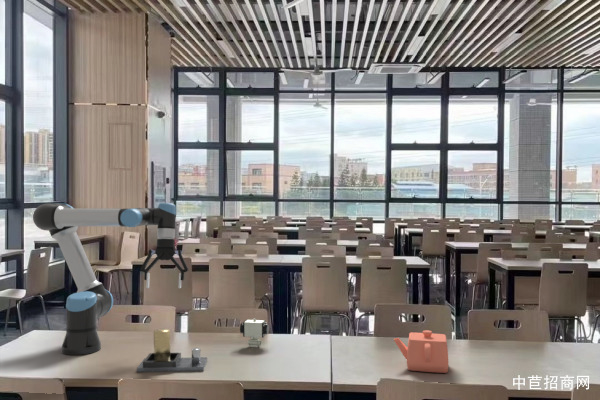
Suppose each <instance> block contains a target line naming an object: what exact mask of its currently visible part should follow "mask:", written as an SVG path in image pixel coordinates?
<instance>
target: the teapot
mask: <svg viewBox="0 0 600 400" xmlns="http://www.w3.org/2000/svg"><path fill="white" fill-rule="evenodd" d="M408 335H409V336H408V341H407V345H406V344H405V343H404V342H403V341H402V340H401V339H400V337H397V338H393V341H394V343H395V344H396V346H397V347H398V348H399V351H400V352H401V353H402V356H403V357H404V359H405V360H406V367H407V370H408V371H413V372H424V373H441V374H443V373H444V374H447V373H448V370H449V348H448V342H447V335H446V334H443V333H433V331H432V330H428V329H427V330H422V332H412V331H411V332H409V333H408Z"/></svg>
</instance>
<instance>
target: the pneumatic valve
mask: <svg viewBox="0 0 600 400" xmlns="http://www.w3.org/2000/svg"><path fill="white" fill-rule="evenodd" d="M239 332H240V334H242V337H245V338H247V337H248V338H250V339H248V340H247V346H248V347H249V348H255V349H256V348H259V347H260V346H261V345H262V340H261V339H260V338H265V337H266V336H267V335H269V332H270V325H269V324H268V323H267V320H262V319H261V320H260V319H256V318H253V319H245V320H244V321H242V322H241V323H240V326H239Z"/></svg>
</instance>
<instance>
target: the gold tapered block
mask: <svg viewBox="0 0 600 400" xmlns="http://www.w3.org/2000/svg"><path fill="white" fill-rule="evenodd" d="M153 353H154V361H171V355H170V353H171V329H169V328H158V329H154V330H153Z"/></svg>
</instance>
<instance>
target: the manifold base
mask: <svg viewBox="0 0 600 400" xmlns="http://www.w3.org/2000/svg"><path fill="white" fill-rule="evenodd" d="M170 355H171V361H154V352H151V353H148V355H147V356H146V357H145V358H144V359H142V361H141V362H140V363H139V365H138V366H137V367H136V373H162V372H169V373H170V372H172V373H173V372H174V373H175V372H204V370H205V368H206V365H207V363H208V356H207V357H205V356H203V357H201V348H200V347H193V348H191V357H182V353H181V352H170Z"/></svg>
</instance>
